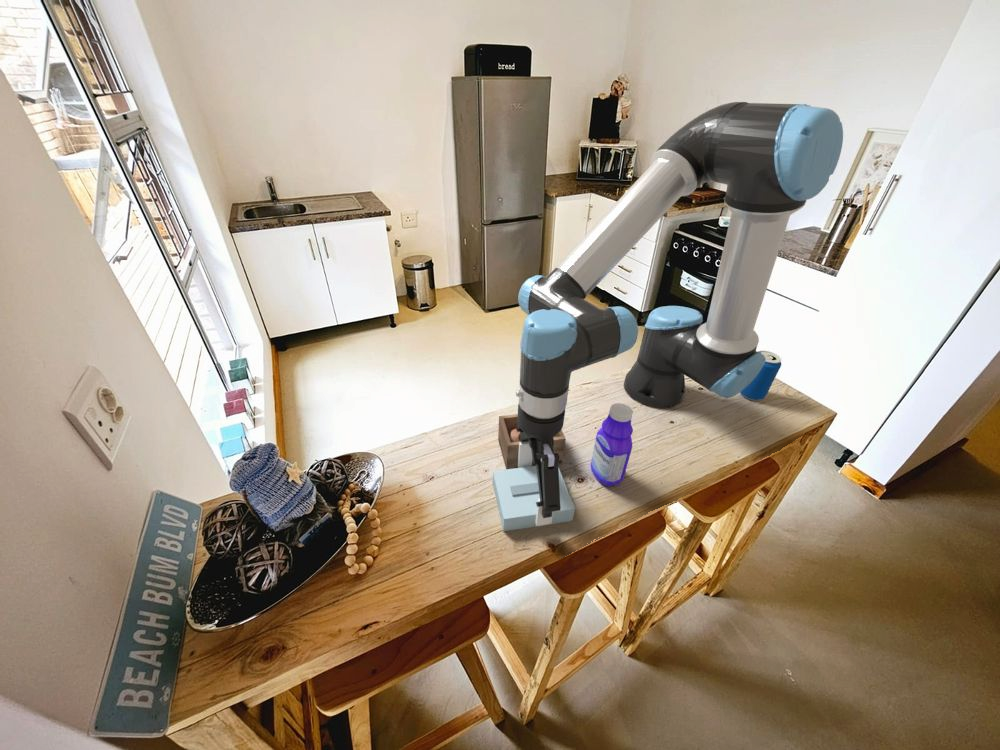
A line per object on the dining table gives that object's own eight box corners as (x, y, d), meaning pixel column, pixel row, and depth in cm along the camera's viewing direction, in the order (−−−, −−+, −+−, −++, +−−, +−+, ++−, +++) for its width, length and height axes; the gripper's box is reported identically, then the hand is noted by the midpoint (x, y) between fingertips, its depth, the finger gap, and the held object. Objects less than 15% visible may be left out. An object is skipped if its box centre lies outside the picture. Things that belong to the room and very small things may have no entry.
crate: (549, 433, 95) (552, 410, 91) (561, 462, 88) (565, 438, 84) (498, 439, 93) (499, 416, 89) (506, 470, 86) (507, 445, 82)
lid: (554, 476, 85) (556, 461, 83) (572, 522, 76) (575, 507, 74) (492, 484, 83) (492, 469, 80) (503, 532, 74) (503, 517, 72)
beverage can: (769, 402, 107) (789, 364, 100) (744, 402, 106) (762, 363, 100) (756, 387, 112) (774, 350, 105) (732, 387, 112) (749, 349, 105)
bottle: (584, 466, 87) (597, 401, 77) (606, 458, 89) (622, 394, 79) (604, 492, 82) (621, 426, 72) (627, 483, 84) (647, 418, 74)
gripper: (502, 364, 75) (500, 448, 87) (540, 466, 55) (530, 556, 67) (542, 360, 76) (535, 443, 88) (593, 459, 56) (574, 548, 69)
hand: (533, 492), depth 78 cm, fingers open, 13 cm apart
